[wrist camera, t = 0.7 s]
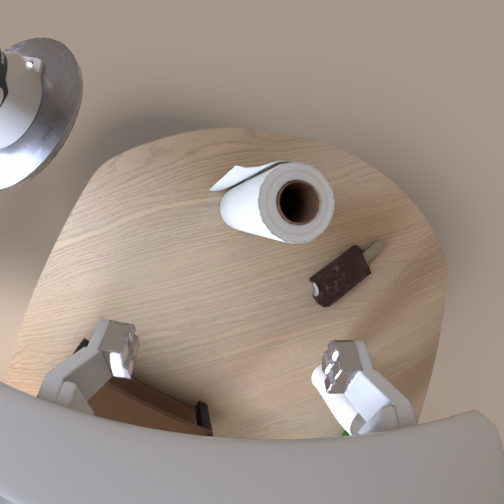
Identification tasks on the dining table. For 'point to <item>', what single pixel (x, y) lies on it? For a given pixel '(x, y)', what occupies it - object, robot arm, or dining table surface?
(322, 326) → the dining table surface
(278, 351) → the dining table surface
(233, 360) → the dining table surface
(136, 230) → the dining table surface
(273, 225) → the paper towel roll
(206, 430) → the rack
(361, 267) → the ice cream bar
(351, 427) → the drinking glass
